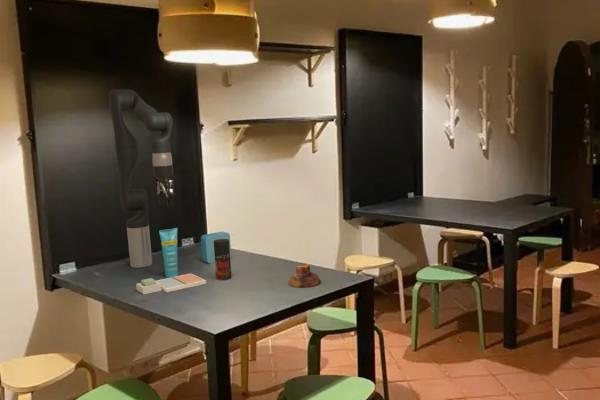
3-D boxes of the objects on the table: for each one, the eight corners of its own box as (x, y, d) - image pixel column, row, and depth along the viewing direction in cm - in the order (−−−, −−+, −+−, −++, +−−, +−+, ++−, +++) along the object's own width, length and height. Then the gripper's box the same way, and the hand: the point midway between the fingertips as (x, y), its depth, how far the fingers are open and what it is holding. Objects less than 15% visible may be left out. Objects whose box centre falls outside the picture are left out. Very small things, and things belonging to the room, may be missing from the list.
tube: (165, 279, 250) (161, 231, 247) (161, 276, 254) (156, 229, 251) (183, 275, 254) (179, 228, 251) (178, 273, 258) (174, 226, 255)
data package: (226, 257, 281) (224, 230, 279) (231, 259, 277) (229, 232, 276) (202, 262, 274) (200, 235, 272) (207, 264, 270) (205, 236, 268)
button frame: (136, 290, 236) (136, 283, 236) (154, 286, 240) (154, 280, 240) (143, 294, 230) (142, 287, 230) (161, 290, 234) (161, 283, 234)
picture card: (152, 284, 243) (152, 281, 243) (191, 276, 252) (190, 273, 252) (166, 292, 232) (166, 288, 231) (206, 283, 240) (206, 280, 240)
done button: (141, 286, 235) (141, 280, 235) (151, 284, 238) (151, 278, 237) (145, 288, 232) (144, 282, 232) (155, 286, 234) (155, 280, 234)
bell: (297, 290, 226) (296, 270, 225) (283, 282, 237) (282, 263, 236) (326, 285, 231) (325, 265, 230) (311, 277, 242) (310, 259, 240)
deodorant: (213, 278, 246) (210, 241, 244) (224, 275, 251) (222, 238, 248) (223, 281, 242) (220, 242, 240) (234, 277, 247) (232, 239, 244)
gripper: (146, 164, 251) (150, 204, 253) (160, 166, 239) (163, 208, 242) (164, 162, 255) (168, 202, 257) (178, 164, 243) (182, 205, 246)
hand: (166, 205), depth 249 cm, fingers open, 8 cm apart
